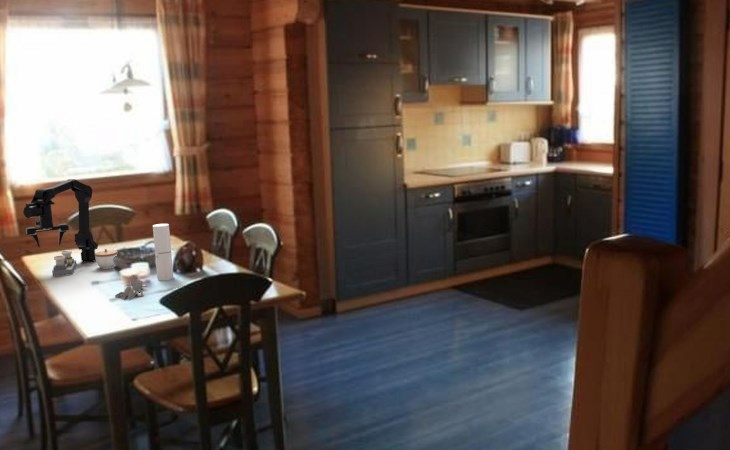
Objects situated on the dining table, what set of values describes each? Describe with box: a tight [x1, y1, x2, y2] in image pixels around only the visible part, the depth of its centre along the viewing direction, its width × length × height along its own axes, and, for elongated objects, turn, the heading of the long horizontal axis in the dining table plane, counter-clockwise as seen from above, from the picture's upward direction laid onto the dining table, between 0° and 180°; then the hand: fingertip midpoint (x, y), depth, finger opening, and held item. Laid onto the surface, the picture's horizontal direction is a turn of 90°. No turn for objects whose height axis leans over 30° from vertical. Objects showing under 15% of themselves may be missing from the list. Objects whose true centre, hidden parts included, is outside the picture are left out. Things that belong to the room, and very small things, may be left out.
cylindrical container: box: [152, 223, 174, 281], centre depth 323 cm, size 7×7×25 cm
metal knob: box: [66, 256, 73, 266], centre depth 347 cm, size 3×3×4 cm
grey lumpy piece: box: [114, 274, 148, 301], centre depth 300 cm, size 20×10×9 cm
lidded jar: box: [95, 248, 119, 270], centre depth 351 cm, size 11×11×9 cm
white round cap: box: [61, 249, 73, 261], centre depth 352 cm, size 5×5×6 cm
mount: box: [51, 258, 77, 277], centre depth 348 cm, size 9×21×4 cm, turn 17°
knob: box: [53, 254, 65, 267], centre depth 341 cm, size 5×5×6 cm
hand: (49, 246), depth 344 cm, fingers open, 9 cm apart
